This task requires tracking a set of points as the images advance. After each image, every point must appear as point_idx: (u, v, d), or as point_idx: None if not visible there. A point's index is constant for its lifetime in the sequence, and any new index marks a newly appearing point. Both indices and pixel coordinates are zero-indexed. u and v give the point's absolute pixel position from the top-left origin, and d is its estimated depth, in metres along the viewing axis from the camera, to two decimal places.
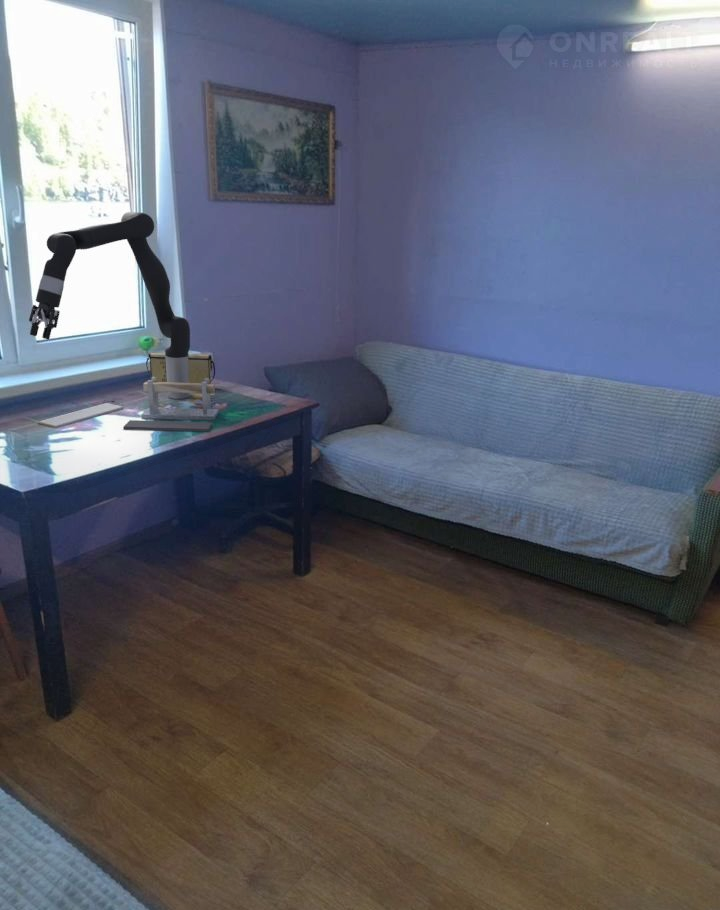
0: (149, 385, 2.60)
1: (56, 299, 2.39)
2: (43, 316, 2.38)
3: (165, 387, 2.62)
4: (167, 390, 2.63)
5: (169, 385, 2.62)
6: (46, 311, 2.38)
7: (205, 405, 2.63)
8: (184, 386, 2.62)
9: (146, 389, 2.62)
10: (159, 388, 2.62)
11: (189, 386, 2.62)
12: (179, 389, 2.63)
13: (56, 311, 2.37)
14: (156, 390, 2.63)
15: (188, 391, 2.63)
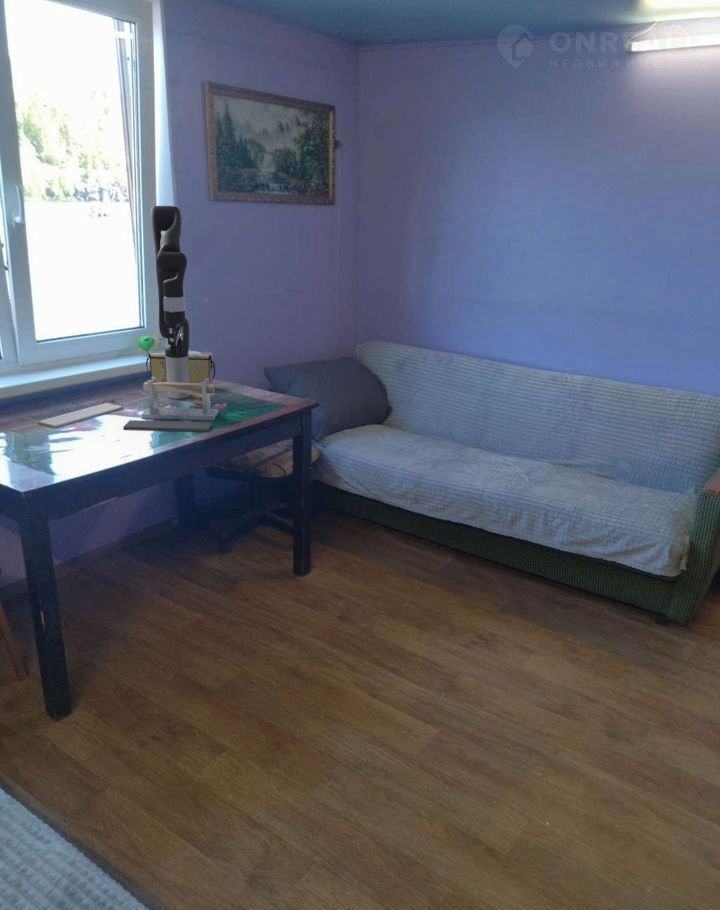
0: (149, 385, 2.60)
1: None
2: (182, 332, 2.60)
3: (165, 387, 2.62)
4: (167, 390, 2.63)
5: (169, 385, 2.62)
6: (180, 327, 2.59)
7: (205, 405, 2.63)
8: (184, 386, 2.62)
9: (146, 389, 2.62)
10: (159, 388, 2.62)
11: (189, 386, 2.62)
12: (179, 389, 2.63)
13: None
14: (156, 390, 2.63)
15: (188, 391, 2.63)
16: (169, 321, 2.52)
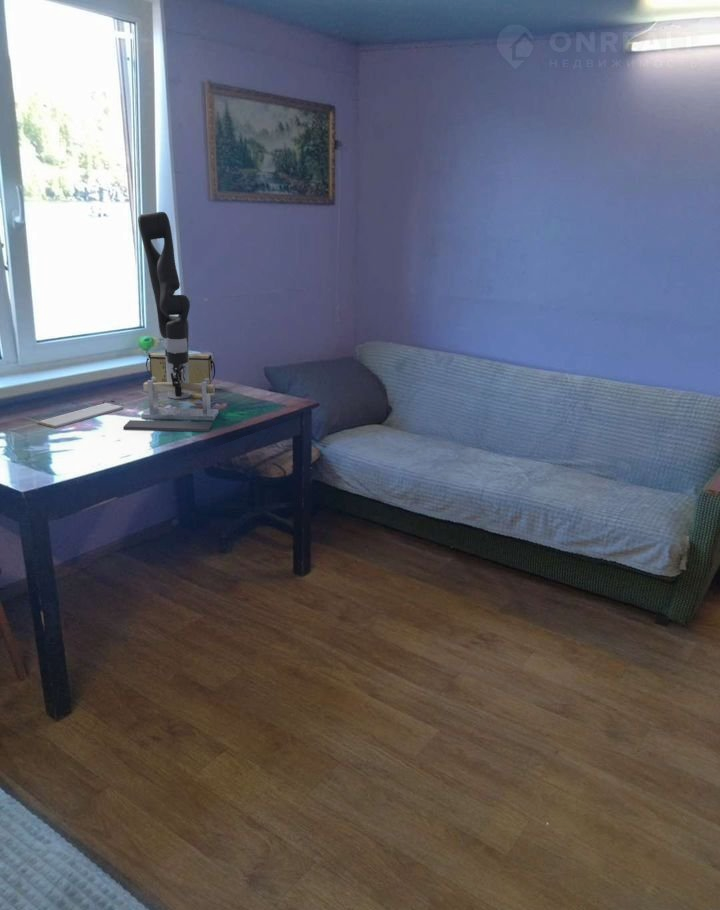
0: (149, 385, 2.60)
1: None
2: None
3: (165, 387, 2.62)
4: (167, 390, 2.63)
5: (169, 385, 2.62)
6: (182, 367, 2.64)
7: (205, 405, 2.63)
8: (184, 386, 2.62)
9: (146, 389, 2.62)
10: (159, 388, 2.62)
11: (189, 386, 2.62)
12: None
13: None
14: (156, 390, 2.63)
15: (188, 391, 2.63)
16: (172, 362, 2.57)
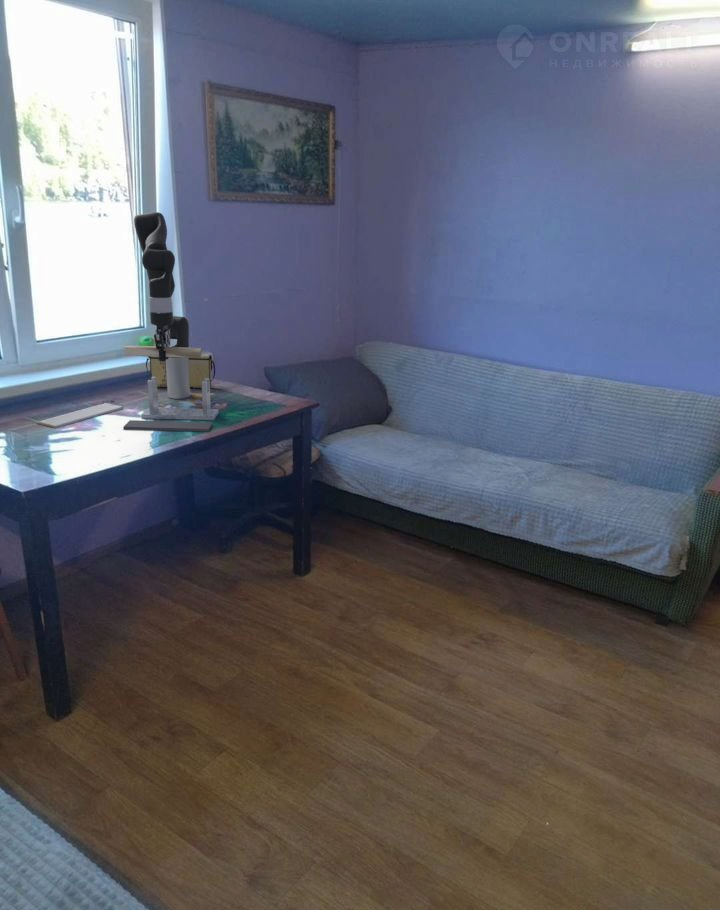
0: (149, 385, 2.60)
1: None
2: None
3: (148, 350, 2.43)
4: (150, 354, 2.43)
5: (152, 349, 2.43)
6: None
7: (205, 405, 2.63)
8: (169, 350, 2.43)
9: (128, 353, 2.43)
10: (141, 352, 2.43)
11: (174, 349, 2.43)
12: None
13: None
14: (138, 354, 2.43)
15: (173, 355, 2.43)
16: (155, 323, 2.38)
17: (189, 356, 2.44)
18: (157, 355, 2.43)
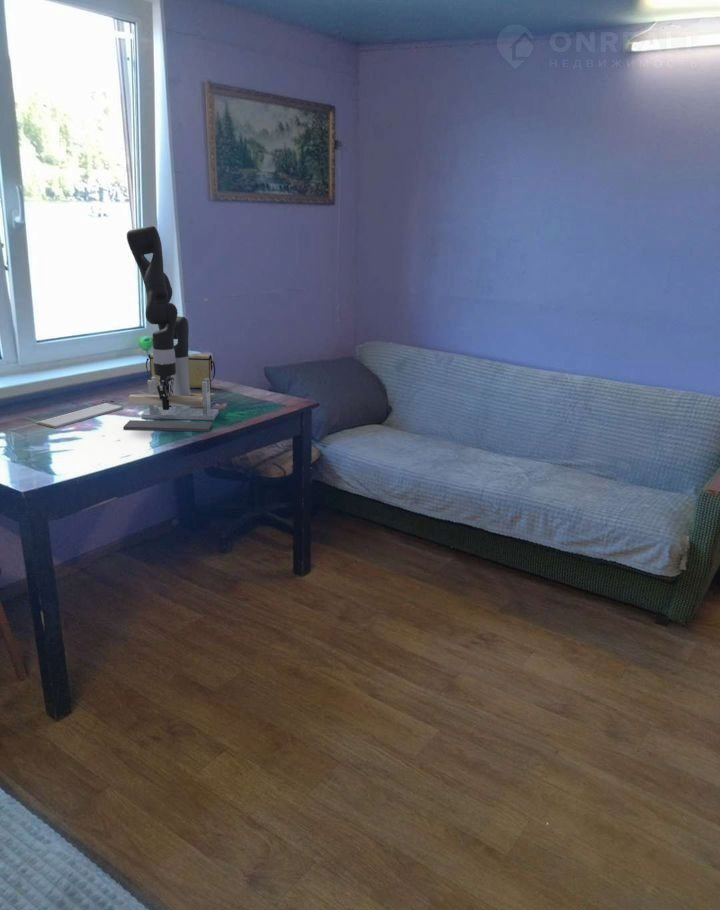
0: (149, 385, 2.60)
1: None
2: None
3: (152, 400, 2.48)
4: (154, 403, 2.49)
5: (156, 398, 2.48)
6: (170, 379, 2.50)
7: (205, 405, 2.63)
8: (172, 399, 2.49)
9: (132, 402, 2.49)
10: (145, 401, 2.49)
11: (177, 398, 2.48)
12: None
13: None
14: (142, 403, 2.49)
15: (176, 404, 2.49)
16: (159, 374, 2.43)
17: (192, 405, 2.49)
18: (160, 404, 2.49)
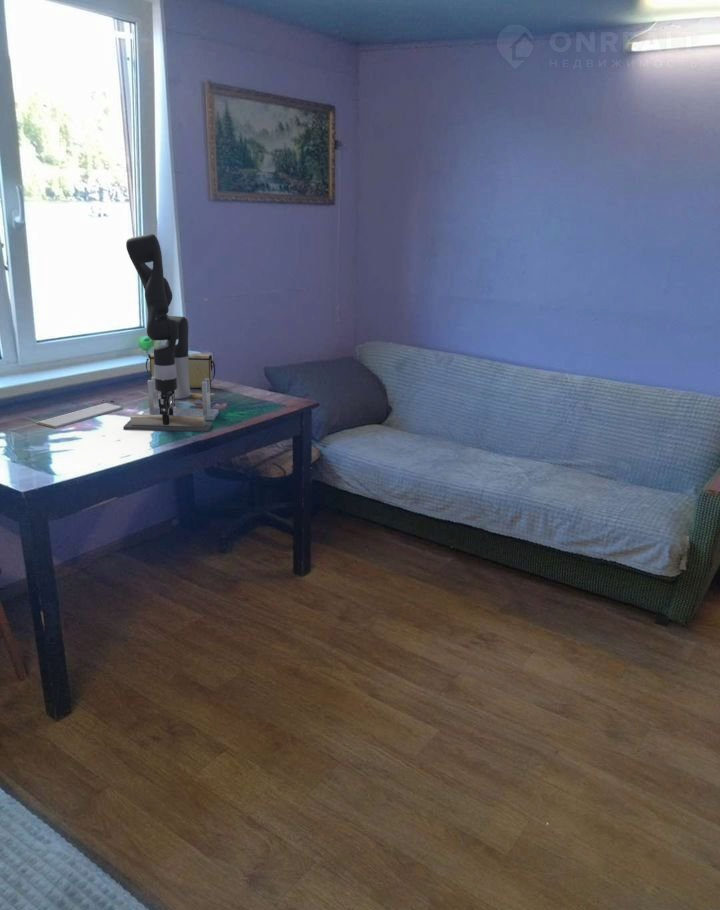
0: (149, 385, 2.60)
1: None
2: (173, 399, 2.53)
3: (153, 420, 2.51)
4: (155, 423, 2.51)
5: (157, 418, 2.51)
6: (171, 394, 2.52)
7: (205, 405, 2.63)
8: (173, 419, 2.51)
9: (133, 422, 2.51)
10: (147, 421, 2.51)
11: (178, 419, 2.51)
12: None
13: None
14: (144, 423, 2.51)
15: (177, 424, 2.52)
16: (160, 389, 2.45)
17: (193, 425, 2.52)
18: (162, 424, 2.52)
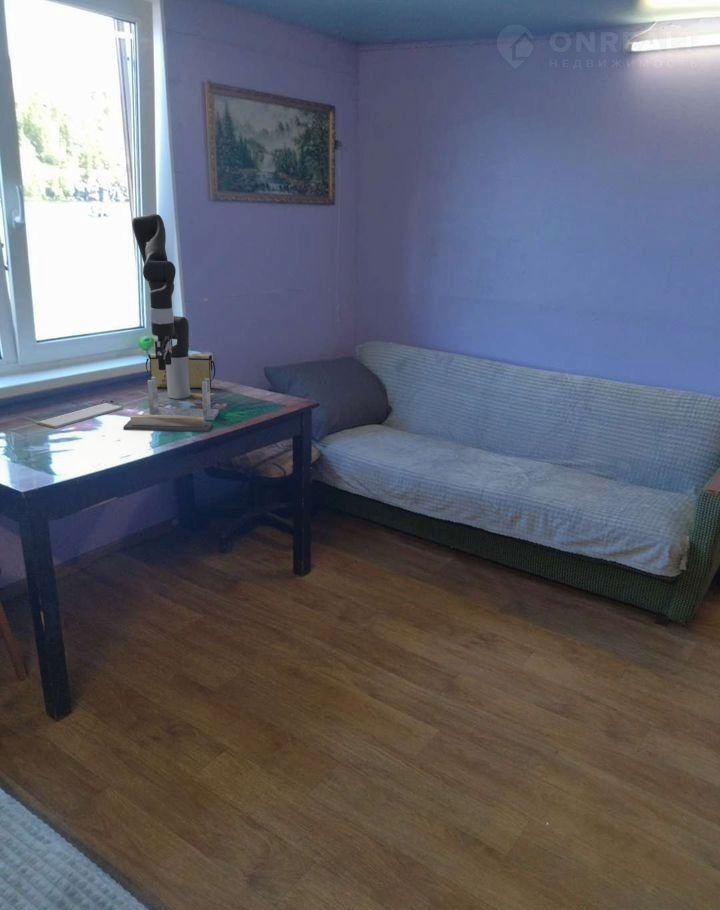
0: (149, 385, 2.60)
1: None
2: (170, 345, 2.46)
3: (153, 420, 2.51)
4: (155, 423, 2.51)
5: (157, 418, 2.51)
6: (168, 340, 2.46)
7: (205, 405, 2.63)
8: (173, 419, 2.51)
9: (133, 422, 2.51)
10: (147, 421, 2.51)
11: (178, 419, 2.51)
12: (167, 422, 2.51)
13: None
14: (144, 423, 2.51)
15: (177, 424, 2.52)
16: (157, 334, 2.39)
17: (193, 425, 2.52)
18: (162, 424, 2.52)
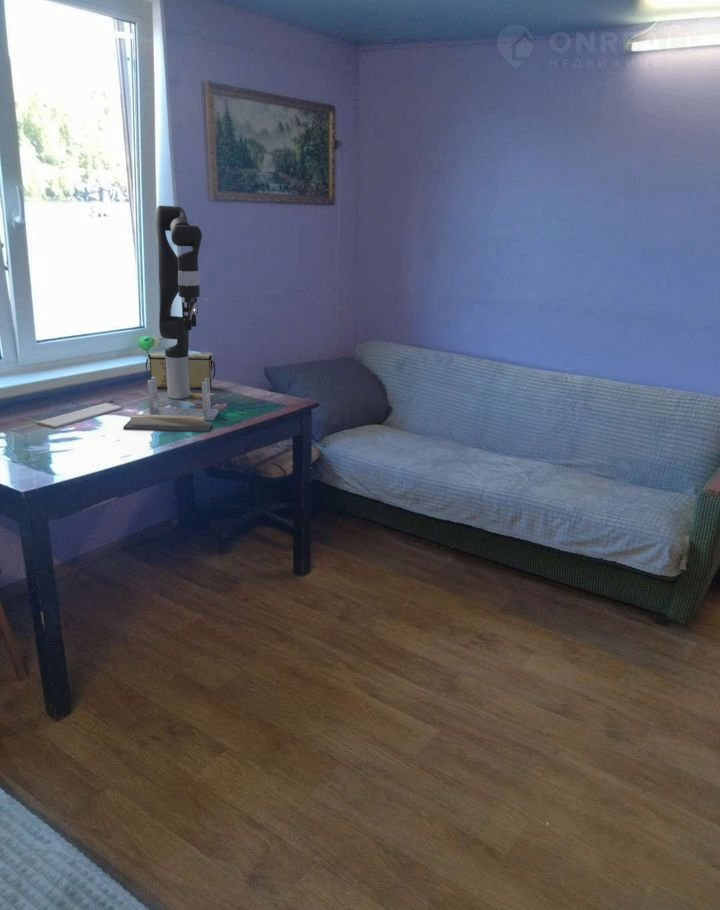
0: (149, 385, 2.60)
1: None
2: (196, 307, 2.59)
3: (153, 420, 2.51)
4: (155, 423, 2.51)
5: (157, 418, 2.51)
6: (194, 302, 2.58)
7: (205, 405, 2.63)
8: (173, 419, 2.51)
9: (133, 422, 2.51)
10: (147, 421, 2.51)
11: (178, 419, 2.51)
12: (167, 422, 2.51)
13: None
14: (144, 423, 2.51)
15: (177, 424, 2.52)
16: (184, 295, 2.51)
17: (193, 425, 2.52)
18: (162, 424, 2.52)
